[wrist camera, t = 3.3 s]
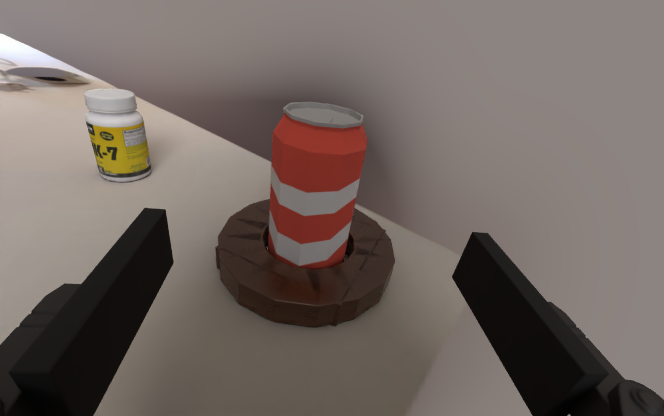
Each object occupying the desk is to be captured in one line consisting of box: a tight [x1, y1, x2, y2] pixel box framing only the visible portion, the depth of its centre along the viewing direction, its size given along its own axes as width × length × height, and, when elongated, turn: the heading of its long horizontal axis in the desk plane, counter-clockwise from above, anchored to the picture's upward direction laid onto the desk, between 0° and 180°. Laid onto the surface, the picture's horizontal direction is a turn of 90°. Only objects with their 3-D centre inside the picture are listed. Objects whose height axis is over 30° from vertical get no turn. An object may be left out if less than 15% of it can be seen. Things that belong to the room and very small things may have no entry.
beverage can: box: [268, 102, 367, 270], centre depth 23 cm, size 6×6×12 cm
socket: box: [216, 199, 395, 327], centre depth 25 cm, size 14×14×2 cm
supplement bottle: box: [84, 88, 151, 182], centre depth 32 cm, size 5×5×8 cm
